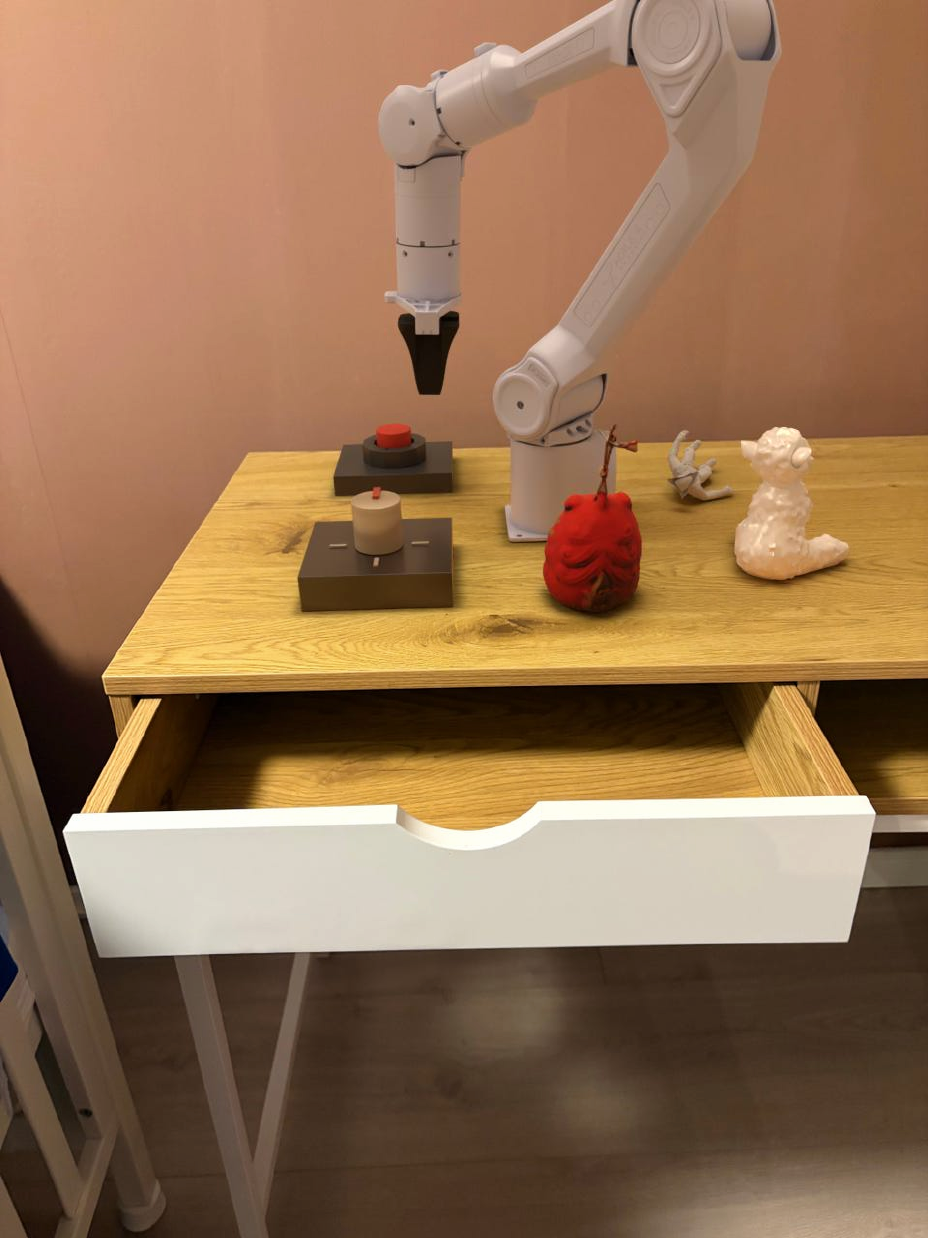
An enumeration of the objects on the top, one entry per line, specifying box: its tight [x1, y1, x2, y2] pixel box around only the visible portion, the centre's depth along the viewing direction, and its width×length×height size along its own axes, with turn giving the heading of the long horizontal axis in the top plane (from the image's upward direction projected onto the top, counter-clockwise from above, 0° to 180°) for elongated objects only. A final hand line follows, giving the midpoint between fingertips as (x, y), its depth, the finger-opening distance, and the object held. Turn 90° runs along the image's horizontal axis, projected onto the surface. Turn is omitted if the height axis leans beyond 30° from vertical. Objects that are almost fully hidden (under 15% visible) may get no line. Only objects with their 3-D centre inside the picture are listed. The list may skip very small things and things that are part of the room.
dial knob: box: [350, 487, 403, 555], centre depth 76 cm, size 4×4×4 cm
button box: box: [332, 432, 454, 497], centre depth 99 cm, size 12×10×4 cm
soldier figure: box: [666, 430, 735, 501], centre depth 93 cm, size 8×5×12 cm
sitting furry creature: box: [733, 426, 850, 581], centre depth 76 cm, size 10×9×12 cm
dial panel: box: [296, 517, 454, 612], centre depth 78 cm, size 12×11×3 cm
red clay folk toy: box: [542, 423, 643, 613], centre depth 71 cm, size 8×7×15 cm
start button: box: [375, 423, 412, 448], centre depth 98 cm, size 4×4×2 cm
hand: (429, 392), depth 90 cm, fingers closed
